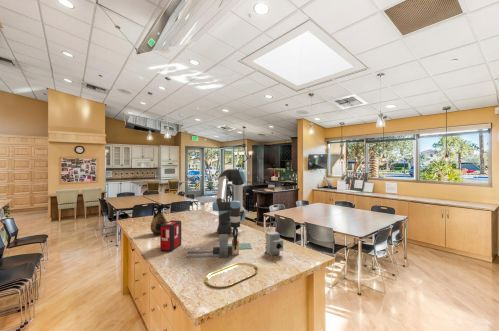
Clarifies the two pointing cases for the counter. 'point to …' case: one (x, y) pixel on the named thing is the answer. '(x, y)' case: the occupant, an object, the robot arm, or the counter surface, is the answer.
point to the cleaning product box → (170, 236)
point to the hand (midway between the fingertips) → (235, 252)
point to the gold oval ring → (230, 268)
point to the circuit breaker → (273, 243)
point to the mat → (243, 246)
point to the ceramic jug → (157, 219)
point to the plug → (230, 248)
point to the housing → (222, 250)
